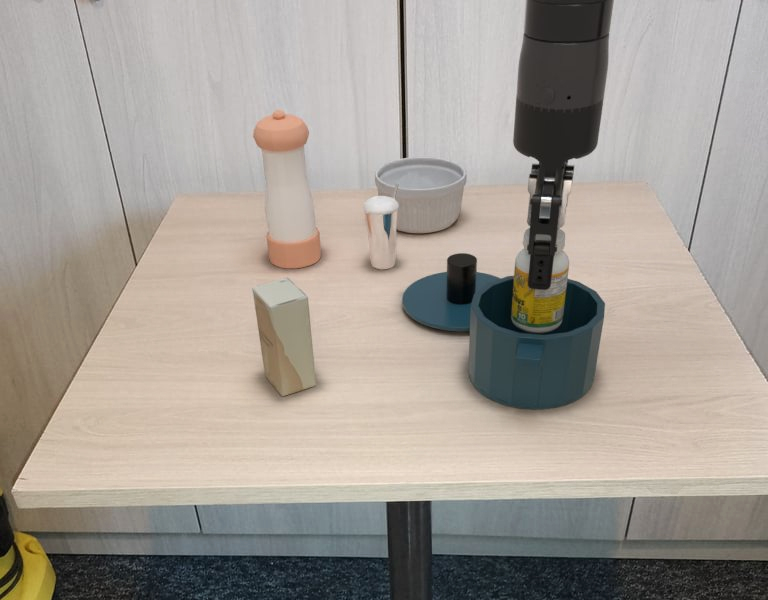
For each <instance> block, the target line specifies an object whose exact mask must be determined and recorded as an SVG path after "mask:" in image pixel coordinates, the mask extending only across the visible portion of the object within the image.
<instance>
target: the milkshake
mask: <svg viewBox="0 0 768 600" xmlns="http://www.w3.org/2000/svg"><path fill="white" fill-rule="evenodd" d="M397 189H398V184H396V186H395V190H394V194H393V198H391V197H387V196H378V195H374V196H371V197H370V198H368V199H367V200H365V201H364V203H363V212H364V218H365V225H366V232H367V239H368V248H369V249H368V250H369V256H370V264H371V266H372V267H373V268H374V269H377V270H389V269H391V268H393V267H395V265H396V259H397V258H396V257H397V238H398V237H397V236H398V230H397V222H398V208H399V204H398V202H397V201H396V200H395V197H396V193H397Z"/></svg>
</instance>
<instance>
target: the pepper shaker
mask: <svg viewBox="0 0 768 600" xmlns="http://www.w3.org/2000/svg"><path fill="white" fill-rule="evenodd" d="M309 134H310V130H309V128H308V126H307V124H306V122H305V121H304V120H303V118H302V117H299V116H296V115H293V114H289V113H285V111H284V110H281V109H276V110H274V111H273V112H272V114H271V115H267V116H265V117H263V118H262V119H260V120H259V121H257V123H256V125H255V127H254V129H253V134H252V137H253V139H254V142H255V145H256V146H257V147H258V148H259V149H260V150H261V158H262V166H263V174H264V180H265V184H264V212H265V213H264V214H265V219H266V224H267V233H266V236H265V237H266V238H265V239H266V244H267V245H266V246H267V251H268V258H269V261H270V263H271V264H272V265H274V266H276V267H277V268H281V269H300V268H305V267H309V266H312V265H314V264H316V263H317V262H318V261H319V260H321V257H322V247H321V237H320V231H319V229H318V227H317V223H316V207H315V202H314V198H313V195H312V190H311V187H310V182H309V179H308V173H307V170H308V169H307V162H306V152H305V145H306V144H307V142H308V139H309Z"/></svg>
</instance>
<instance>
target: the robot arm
mask: <svg viewBox="0 0 768 600" xmlns="http://www.w3.org/2000/svg"><path fill="white" fill-rule="evenodd" d="M614 3H615V0H525V8H524V9H525V10H524V24H523V35H522V43H521V48H520V53H519V59H518V67H517V80H516V81H517V82H516V94H515V95H516V96H515V109H514V110H515V111H514V125H513V138H512V139H513V140H512V142H513V143H512V144H513V147H514V149H515V150H516V151H517V153H519V154H521V155H522V156H525V157H528V158H532V159H534V160H536V161H538V163H531V170H530V173H529V174H528V175H529V176H528V183H527V192H528V194H529V198H528V199H529V200H528V208H527V216H526V217H527V218H526V223H527V225H528V226H529V228H530V233H529V245H527V250H528V254H529V255H530V265H529V276H528V287H529V288H531V289H541V290H547V289H549V288H550V286H551V279H552V270H553V261H554V255H555V252H557V248H558V245H556V243H557V235H558V229H561V228H563V227H564V226H565V220H566V215H567V214H566V213H567V207H568V204H569V203H568V202H569V196H570V195H571V194H572V187H573V181H574V175H575V164H569V161H570V160H573V159H575V160H578V159H583V158H584V157H586V156H589V155H590V154H592V153H593V152H594V151H595V150H596V148H597V146H598V144H599V136H600V129H601V123H602V122H601V121H602V115H603V108H604V107H603V106H604V100H605V92H606V85H607V78H608V69H609V56H610V55H609V54H610V53H609V52H610V51H609V47H610V46H609V45H610V42H609V41H610V32H611V24H612V17H613V10H614ZM537 234H541V235H550V236H551V241H549V240H536V235H537Z"/></svg>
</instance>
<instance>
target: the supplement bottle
mask: <svg viewBox="0 0 768 600" xmlns="http://www.w3.org/2000/svg"><path fill="white" fill-rule="evenodd" d="M529 233H530V227H528V228H527V229H526V230H525V231H524V232H523V240H522V246H523V249H521V250H520V251H519V252H518V253H517V255H516V256H515V259H514V260H515V261H514V270H513V271H514V272H513V276H514V285H513V299H512V312H511V319H512V322H513V324H514V325H515V326H516V327H518V328H519V329H522V330H524V331H526V332H531V333H546V332H550V331H553V330H555V329H556V328H558V327H559V326H560V324H561V323H562V319H563V313H564V304H565V295H566V287H567V279H569V270H570V258H569V255H568V254H567V253H566V252H565V251H564V248H565V246H566V232H565V230H562V229H561V228H559V229H558V235H557V243H556V245H558V248H557V252H555V255H554V261H553V270H552V279H551V286H550V288H549V289H547V290H541V289H531V288H529V287H528V276H529V265H530V255H529V254H528V250H527V245H529ZM536 240H549V241H551V236H550V235H541V234H537V235H536Z"/></svg>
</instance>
